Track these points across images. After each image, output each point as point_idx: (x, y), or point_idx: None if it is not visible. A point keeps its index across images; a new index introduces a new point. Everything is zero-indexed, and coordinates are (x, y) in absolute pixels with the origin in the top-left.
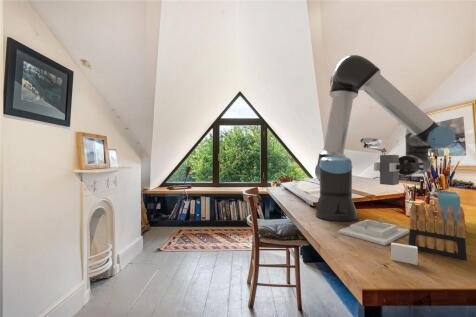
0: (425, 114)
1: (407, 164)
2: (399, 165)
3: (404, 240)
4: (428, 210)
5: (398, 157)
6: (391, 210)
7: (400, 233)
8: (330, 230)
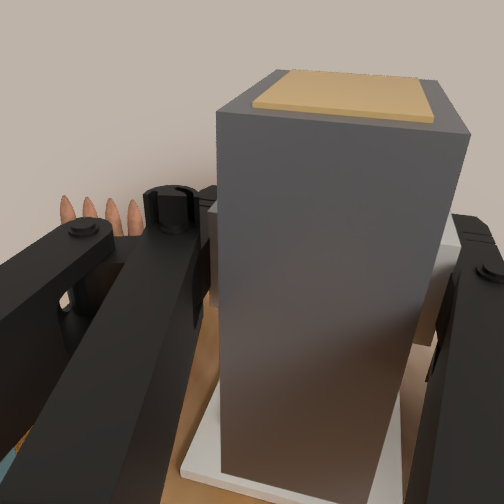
0: None
1: (113, 236)
2: (212, 188)
3: (203, 372)
4: (141, 219)
5: (222, 152)
6: None
7: (214, 399)
8: (430, 346)
